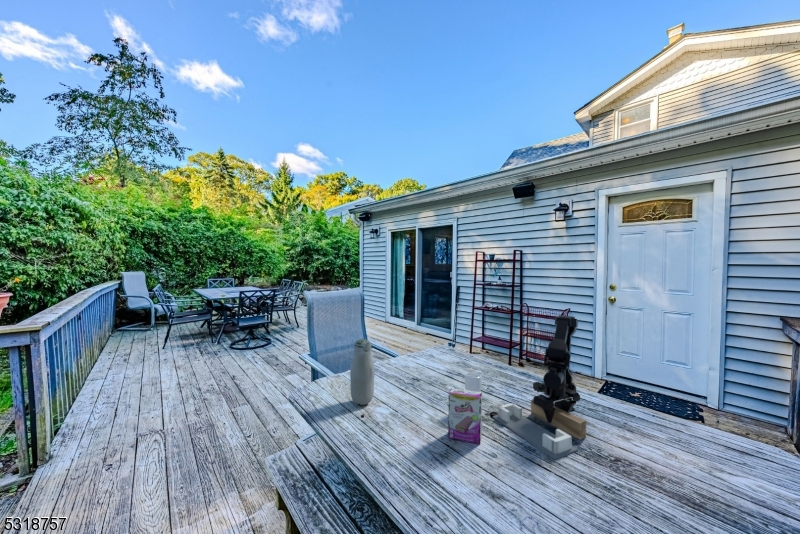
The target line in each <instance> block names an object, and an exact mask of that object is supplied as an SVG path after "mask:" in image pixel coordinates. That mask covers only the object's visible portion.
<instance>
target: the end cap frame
mask: <svg viewBox="0 0 800 534" xmlns="http://www.w3.org/2000/svg"><path fill="white" fill-rule="evenodd" d="M492 418H493V419H494V420H496V421H497V422H498V423H500V424H501V425H503V426H504V427H506V428H507V429H509V431H511V432H513V433H514V434H516V435H517V436H519V437H520V438H522V439H523V440H525V441H526V442H528V443H529V444H530V445H532V446H533V447H535V448H537V449H538V450H540V452H543V453H544V454H546V455H547V456H548V457H549V458H551V459H553V460H559V459H560V458H564V457H566V456H567V455H569V456H570V454H573V453H574V454H575V453H576V452H579V448H578V447H575V446H574V445H573V444H572V443H573V436H572V435H570V434H568V433H566V432H564V431H562V430H560V429H558V428H556V429H555V434H554V433H552V432H550V431H549V430H547V429H546V428H544V427H542V426H540V425H538V423H535V422H533V421H532V420H530V419H528V418H527V417H525V416H524V415H523V408H522V407H520V406H519V405H517V404H515V403H514V402H511V403H507V404H502V405H498V406H497V414H496V415H493V416H492Z"/></svg>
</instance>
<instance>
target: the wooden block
mask: <svg viewBox="0 0 800 534" xmlns="http://www.w3.org/2000/svg"><path fill="white" fill-rule="evenodd" d="M553 407H554V408H556V409H555V412H554V416H553V419H552V422H551V423H548V421H547V418H546V415H545V413H544V410H543V408H541V407H539V406H537V405H536V404H534V403H533V399H531V400H530V415H532V416H534V417H536V418H537V419H539V420H542V421H543V422H545V423H547V424H548V425H551V426H553V427H554V428H556V429H559V430H561V431H563V432H565V433H566V434H568V435H570V436H572V438H576V439H578V440H580V441H581V440H583V439H586V437H587V420H585V419H582V418H581V417H579V416H577V415H574V414H572V413H571V412H569V413H568V412H566V411H563V410H561V409H559V408H557V407H555V406H553Z"/></svg>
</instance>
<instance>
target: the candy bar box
mask: <svg viewBox="0 0 800 534" xmlns="http://www.w3.org/2000/svg"><path fill="white" fill-rule="evenodd" d="M482 411H483V392H482V391H481V392H477V391H470V390H465V388H464V389H463V388H456V387H450V389H449V391H448V418H447V419H448V422H447V424H448V426H447V429H448V430H447V431H448V433H447V437H448V439H450V438H451V439H452V440H455V441H456V440H457V441H461V442H467V443H470V444H471V443H473V444H475V445H476V444H477V445H481V440H482V433H483V432H482V430H483V429H482V419H483V416H482V415H483V412H482Z"/></svg>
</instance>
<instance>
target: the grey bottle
mask: <svg viewBox="0 0 800 534" xmlns="http://www.w3.org/2000/svg"><path fill="white" fill-rule="evenodd" d="M373 358H374V357H373V354H372V343H371V341H370V340H368V339H366V338H361V339H357V340H356V341H355V343H354V346H353V355H352V359H351V364H350V369H349V370H350V371H349V375H350V377H349V378H350V380H349V381H350V382H349V383H350V397H351V399H352V401H353V402H354V403H355V404H357V405H359V404H360V405H361V406H364V405H365V406H366V405H368V404H369V403H371V401H372V400H373V399H374V398H373V397H374V393H375V362H374V359H373Z"/></svg>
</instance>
